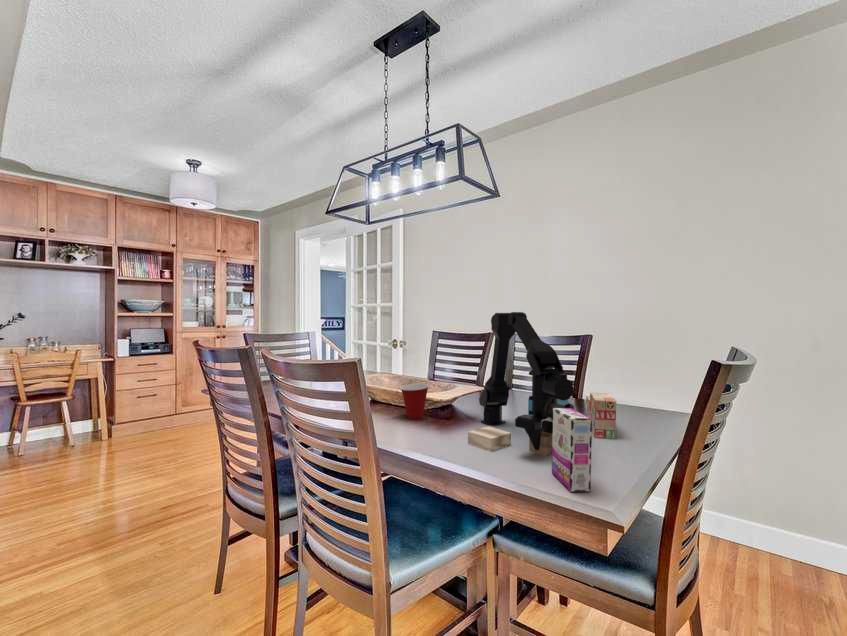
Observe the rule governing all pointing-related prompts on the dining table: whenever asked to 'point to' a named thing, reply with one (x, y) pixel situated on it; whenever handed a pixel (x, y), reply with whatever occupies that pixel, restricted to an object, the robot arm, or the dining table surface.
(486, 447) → the maple base block
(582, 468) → the candy bar box
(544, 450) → the walnut cube
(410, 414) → the plastic cup
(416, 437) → the dining table surface
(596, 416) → the stack of blocks
